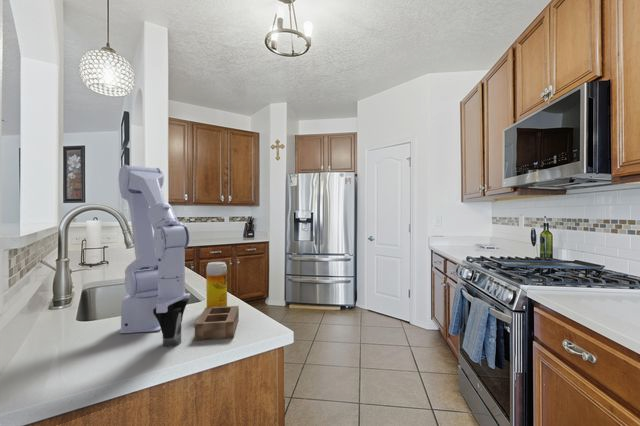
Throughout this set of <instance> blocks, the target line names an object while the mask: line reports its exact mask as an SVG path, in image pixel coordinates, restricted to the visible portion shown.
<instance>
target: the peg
mask: <svg viewBox="0 0 640 426" xmlns="http://www.w3.org/2000/svg"><path fill="white" fill-rule="evenodd" d="M180 344H182V322H181V312H179V315H178V318H177V323H176V331H175V335H174V338H166V339H164V337H163V336H162V347H164V348H171V347H177V346H179V345H180Z"/></svg>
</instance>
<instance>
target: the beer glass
mask: <svg viewBox="0 0 640 426" xmlns="http://www.w3.org/2000/svg"><path fill="white" fill-rule="evenodd" d="M205 269H206V270H205V271H206V276H205V277H206V307H225V306H228V267H227V264H226V262H225V261H212V262H208V263H207V265H206V268H205Z"/></svg>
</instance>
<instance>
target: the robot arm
mask: <svg viewBox="0 0 640 426" xmlns="http://www.w3.org/2000/svg"><path fill="white" fill-rule="evenodd" d="M164 176H165V175H164V173H163V171H162V169H161V168H160V167H146V166H145V167H144V166H138V165H137V166H136V165H128V164H123V165H122V166H121V167H120V168H119V174H118V188H119V192H120V197H121V198H122V199H124V200H126V201H127V204H128V208H129V215H130V222H131V230H132V238H133V247H134V255H135V259H134V260H133V261H131V262H130V263H129V264H128V265H127V266H126V268H125V270H124V274H125V275H124V276H125V277H124V288H125V292H126V294H127V295H125V296H124V297H123V298H122V303H121V306H120V331H119V334H133V333H146V332H147V333H149V332H150V333H151V332H158V331H159V332H160V331H161V334H162V338H163V337H164V339H166V338H174V335H175V331H176V323H177V318H178V315H179V312H181V323H183V317H184V312H185V309H186V306H187V305H188V303H189V298H191V293H190V292H188V293H186V275H185V274H186V267H185V266H186V263H185V260H186V259H185V258H186V257H185V256H186V255H185V254H186V251H185V249H187V248H188V247H189V243H190V232H189V229H188V227H187V225H186V224H183V223H182V222H180V221H179V220H178V217H177V216H176V213H175V211H174V208H173V206H172V205H171V204H169V203H167V202H165V198H164V193H163V191H162V188H163V185H164V178H165V177H164Z"/></svg>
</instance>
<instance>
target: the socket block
mask: <svg viewBox="0 0 640 426" xmlns="http://www.w3.org/2000/svg"><path fill="white" fill-rule="evenodd" d="M239 309H240V308H239V305H229V306H228V305H227V306H225V307H207V306H206V307H205V308H204V309H203V312H201V314H200V316H198V319H197V320H196V321H195V323H194V340H195V341H196V342H197V341H206V340H207V341H208V340H210V341H211V340H224V339H234V338H235V334H236V330H237V327H238V323H239V314H240V312H239Z"/></svg>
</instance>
